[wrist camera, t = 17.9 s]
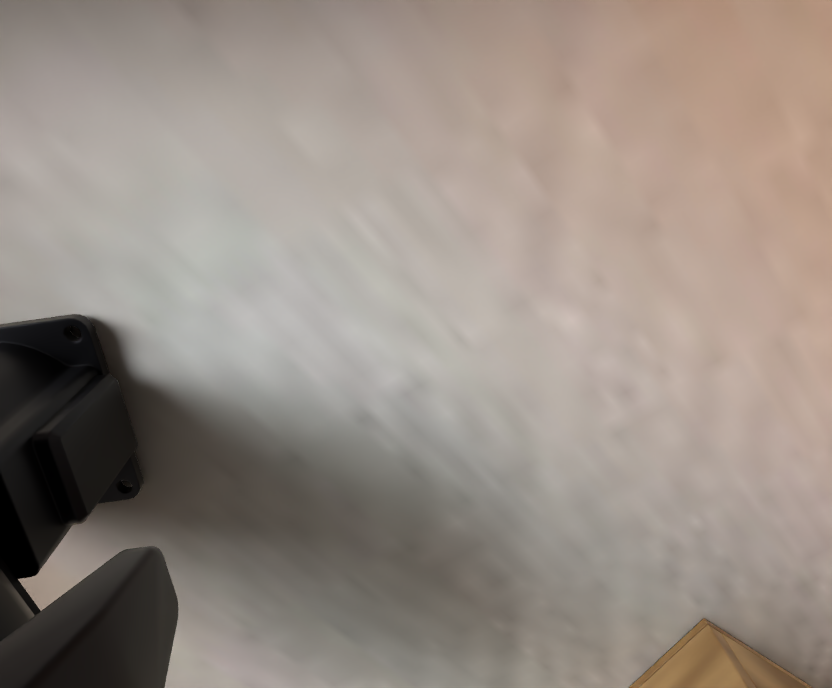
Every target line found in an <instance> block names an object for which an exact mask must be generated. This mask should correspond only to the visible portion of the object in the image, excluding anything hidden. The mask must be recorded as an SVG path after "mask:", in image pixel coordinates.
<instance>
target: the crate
mask: <svg viewBox="0 0 832 688" xmlns="http://www.w3.org/2000/svg"><path fill="white" fill-rule="evenodd" d="M629 688H813V687H811V686H809V685H808V684H806V683H805V682H803V681H802V680H800V679H798V678H797V677H795V676H794V675H792V674H791V673H789V672H787V671H786V670H784V669H783V668H781V667H780V666H778V665H776V664H775V663H773V662H772V661H770V660H769V659H767V658H765V657H764V656H762V655H761V654H759V653H758V652H756V651H754V650H753V649H751V648H750V647H748V646H747V645H745V644H743V643H742V642H740V641H739V640H737V639H736V638H734V637H732V636H731V635H729V634H728V633H726V632H725V631H723V630H721V629H720V628H718V627H717V626H715V625H714V624H712V623H711V622H709V621H707V620H706V619H703V620H701V621H700V622H699V623H698V624H697V625H696V626H695V627H694V628H693V629H692V630H691V631H690V632H688V633H687V634H686V635H685V636H684V637H683V638H682V639H681V640H680V641H679V642H678V643H677V644H676V645H674V646H673V647H672V648H671V649H670V650H669V651H668V652H667V653H666V654H665V655H664V656H663V657H661V658H660V659H659V660H658V661H657V662H656V663H655V664H654V665H653V666H652V667H651V668H650V669H648V670H647V671H646V672H645V673H644V674H643V675H642V676H641V677H640V678H639V679H638V680H637V681H635V682H634V683H633V684H632V685H631V686H630V687H629Z"/></svg>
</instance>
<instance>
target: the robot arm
mask: <svg viewBox="0 0 832 688" xmlns="http://www.w3.org/2000/svg"><path fill="white" fill-rule="evenodd" d="M70 326H75V327H77V328H78V329H79V330H80V331H81V337H76V336H74V335H73V334H72V333H71V331H70ZM137 446H138V443H137V440H136V437H135V434H134V431H133V427H132V424H131V421H130V418H129V415H128V412H127V409H126V406H125V403H124V399H123V396H122V393H121V390H120V387H119V384H118V381H117V379H115V378H114V377H113V376H112V375H110V374H109V371H108V367H107V364H106V361H105V358H104V355H103V352H102V349H101V346H100V343H99V340H98V337H97V334H96V330H95V327H94V326H93V324H92V322H91V321H90V320H89V319H88V318H87V317H85V316H82V315H77V314H72V315H65V316H58V317H51V318H43V319H36V320H29V321H22V322H14V323H7V324H0V688H164V687H165V681H166V676H167V671H168V666H169V661H170V656H171V651H172V646H173V641H174V635H175V630H176V625H177V620H178V600H177V596H176V593H175V589H174V586H173V583H172V580H171V577H170V574H169V571H168V568H167V565H166V562H165V559H164V556H163V554H162V552H161V551H160V549H159V548H157V547H155V546H148V547H141V548H133V549H126V550H124V551H121V552H120V553H118V554H117V555H116V556H114V557H113V558H112V559H110V560H109V561H108V562H106V563H105V564H104V565H102V566H101V567H100V568H98V569H97V570H96V571H94V572H93V573H92V574H90V575H89V576H87V577H86V578H85V579H83V580H82V581H81V582H79V583H78V584H77V585H75V586H74V587H73V588H71V589H70V590H69V591H67V592H66V593H65V594H63V595H62V596H61V597H59V598H58V599H57V600H55V601H54V602H53V603H51V604H50V605H49V606H47V607H46V608H45V609H43V610H42V611H40V609H39V608H38V607H37V605H36V604H35V603H34V601H33V600H32V598H31V597H30V596H29V594H28V593H27V592H26V590H25V589H24V587H23V586H22V585H21V583H20V582H19V581H18V579H19V578H27V577H32V576H35V575H37V573H38V572H39V571H40V569H41V568H42V566H43V565H44V564H45V562H46V561H47V560H48V558H49V557H50V555H51V554H52V553H53V551H54V550H55V549H56V547H57V546H58V544H59V543H60V542H61V540H62V539H63V538H64V536H65V535H66V533H67V532H68V531H69V529H70V528H71V527H72V525H73V524H79V523H83V522H84V521H85V520H86V519H87V517H88V516H89V515H90V513H91V512H92V510H93V509H94V507H95V506H96V505H97V504H98V503H106V502H113V501H120V500H127V499H131V498H134V497H135V496H136V495H137V494H138V493H139V492H140V490H141V488H142V486H143V484H144V480H143V475H142V472H141V469H140V466H139V463H138V460H137V457H136V454H135V449H136V448H137ZM121 480H126V481H128V482H130V483H131V485H132V486H131V487H129V486H125V485H124V484H123V483H122V482H121Z"/></svg>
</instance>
